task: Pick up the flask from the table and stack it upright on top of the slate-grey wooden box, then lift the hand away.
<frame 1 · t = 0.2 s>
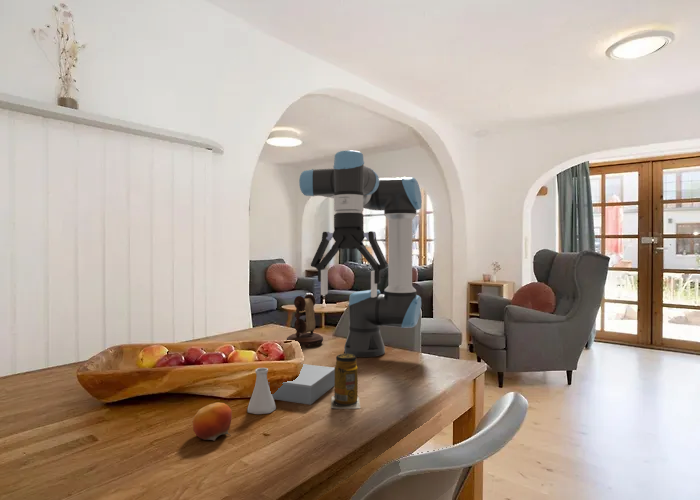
hand: (348, 295, 110), 28 cm above the table, tool pointing down, fingers open, 13 cm apart
brown sculpture on stand: (304, 344, 175), on the table
flask: (261, 410, 107), on the table
fruit: (213, 436, 92), on the table
slate box: (303, 391, 119), on the table
condiment: (345, 403, 111), on the table
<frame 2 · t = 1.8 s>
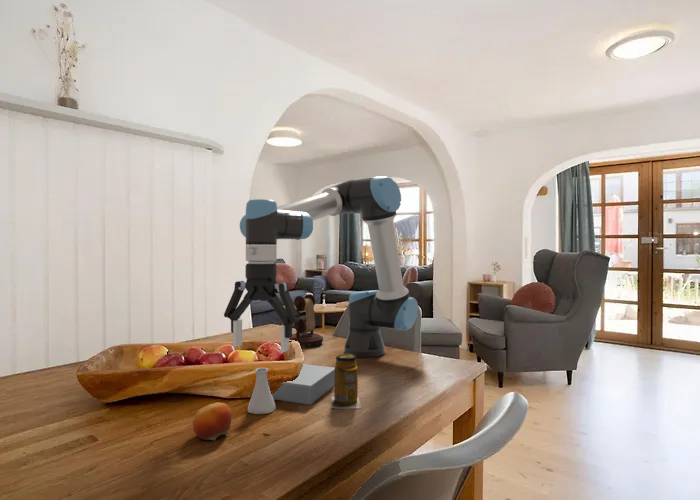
hand: (260, 348, 106), 15 cm above the table, tool pointing down, fingers open, 13 cm apart
nothing on the table moved.
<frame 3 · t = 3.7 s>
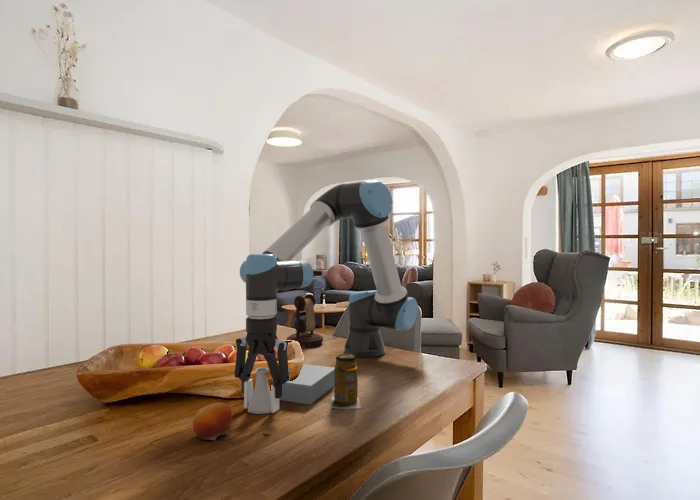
hand: (261, 408, 107), 0 cm above the table, tool pointing down, fingers closed on flask, 7 cm apart
flask: (261, 410, 107), on the table, touching gripper
everything else where it was.
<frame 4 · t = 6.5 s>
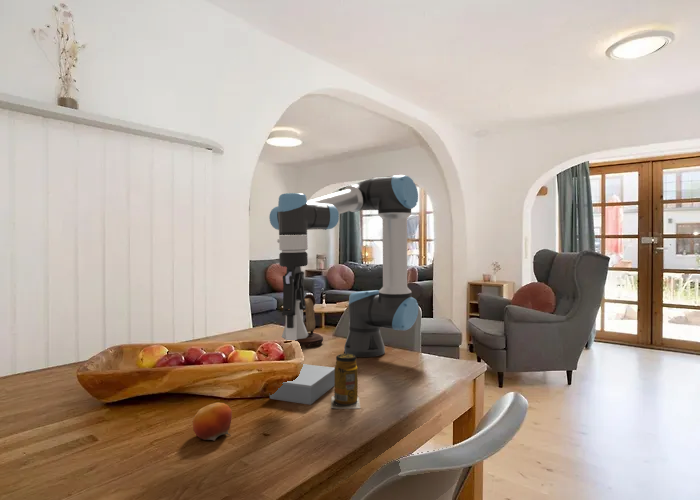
hand: (294, 336, 116), 16 cm above the table, tool pointing down, fingers closed on flask, 7 cm apart
flask: (295, 338, 116), point 16 cm above the table, touching gripper
everything else where it was.
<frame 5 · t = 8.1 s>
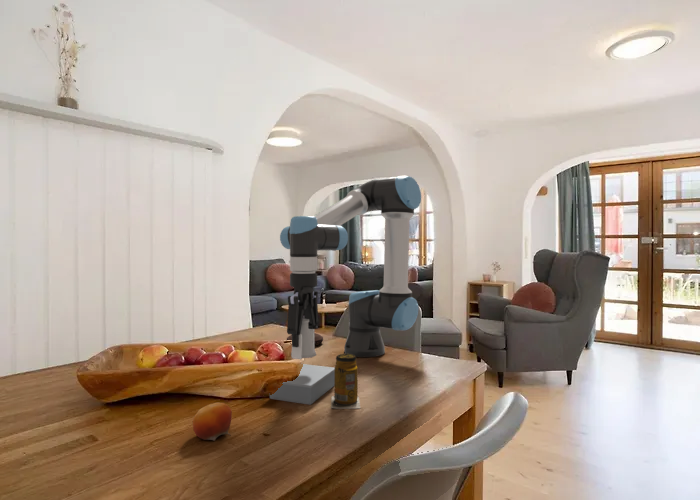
hand: (303, 354, 119), 10 cm above the table, tool pointing down, fingers closed on flask, 7 cm apart
flask: (303, 356, 119), point 10 cm above the table, touching gripper
everything else where it was.
when the fingers open (6 cm above the table, at t = 9.2 s): flask drops 1 cm, resting on slate box.
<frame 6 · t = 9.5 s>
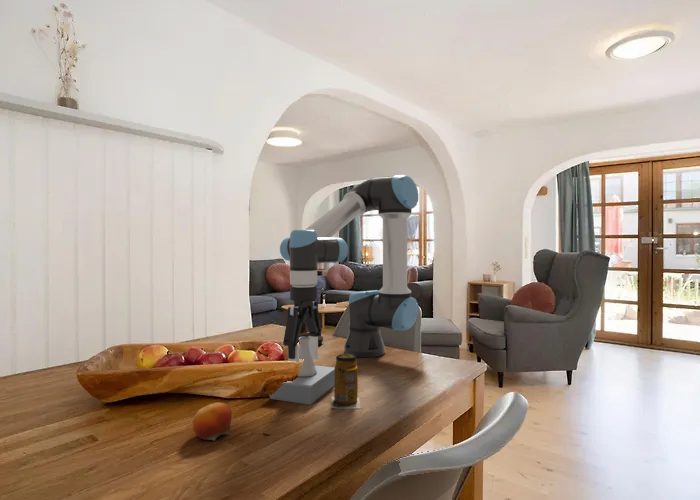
hand: (303, 364, 119), 8 cm above the table, tool pointing down, fingers open, 11 cm apart
flask: (304, 374, 119), point 5 cm above the table, touching slate box
everything else where it was.
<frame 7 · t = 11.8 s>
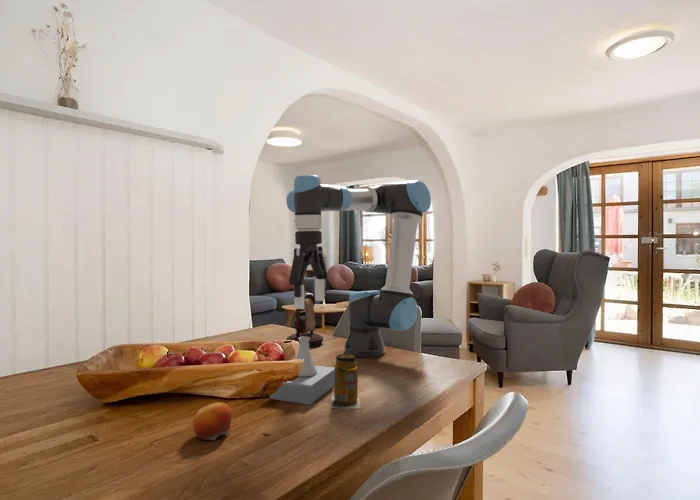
hand: (310, 304, 123), 24 cm above the table, tool pointing down, fingers open, 13 cm apart
nothing on the table moved.
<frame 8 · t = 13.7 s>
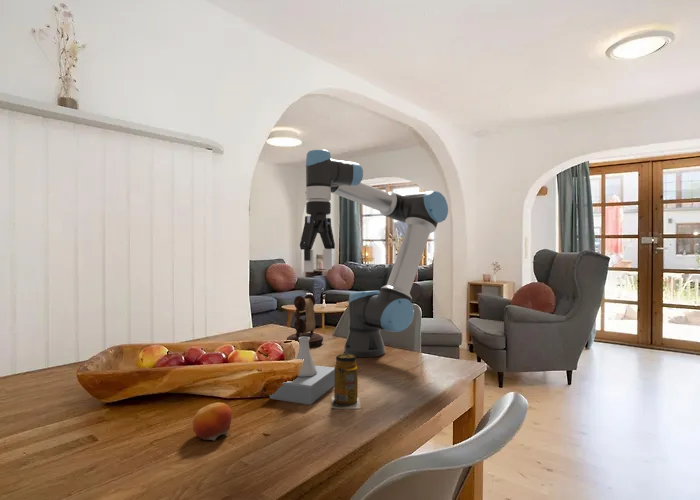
hand: (318, 270, 132), 33 cm above the table, tool pointing down, fingers open, 13 cm apart
nothing on the table moved.
at the end: flask inside the target area on the slate box (0.1 cm from its centre), point 4.8 cm above the slate box's base; flask tilted 0°; the gripper is holding nothing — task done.
